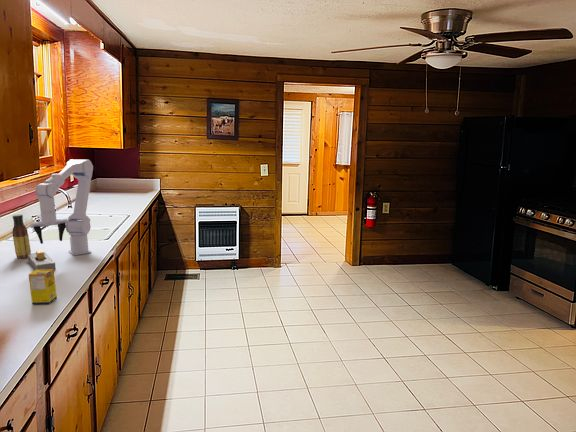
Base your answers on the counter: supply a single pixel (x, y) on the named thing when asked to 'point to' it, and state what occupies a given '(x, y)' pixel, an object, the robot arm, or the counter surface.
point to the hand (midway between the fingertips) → (51, 241)
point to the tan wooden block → (40, 255)
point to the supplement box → (42, 286)
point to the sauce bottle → (20, 237)
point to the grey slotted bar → (41, 262)
